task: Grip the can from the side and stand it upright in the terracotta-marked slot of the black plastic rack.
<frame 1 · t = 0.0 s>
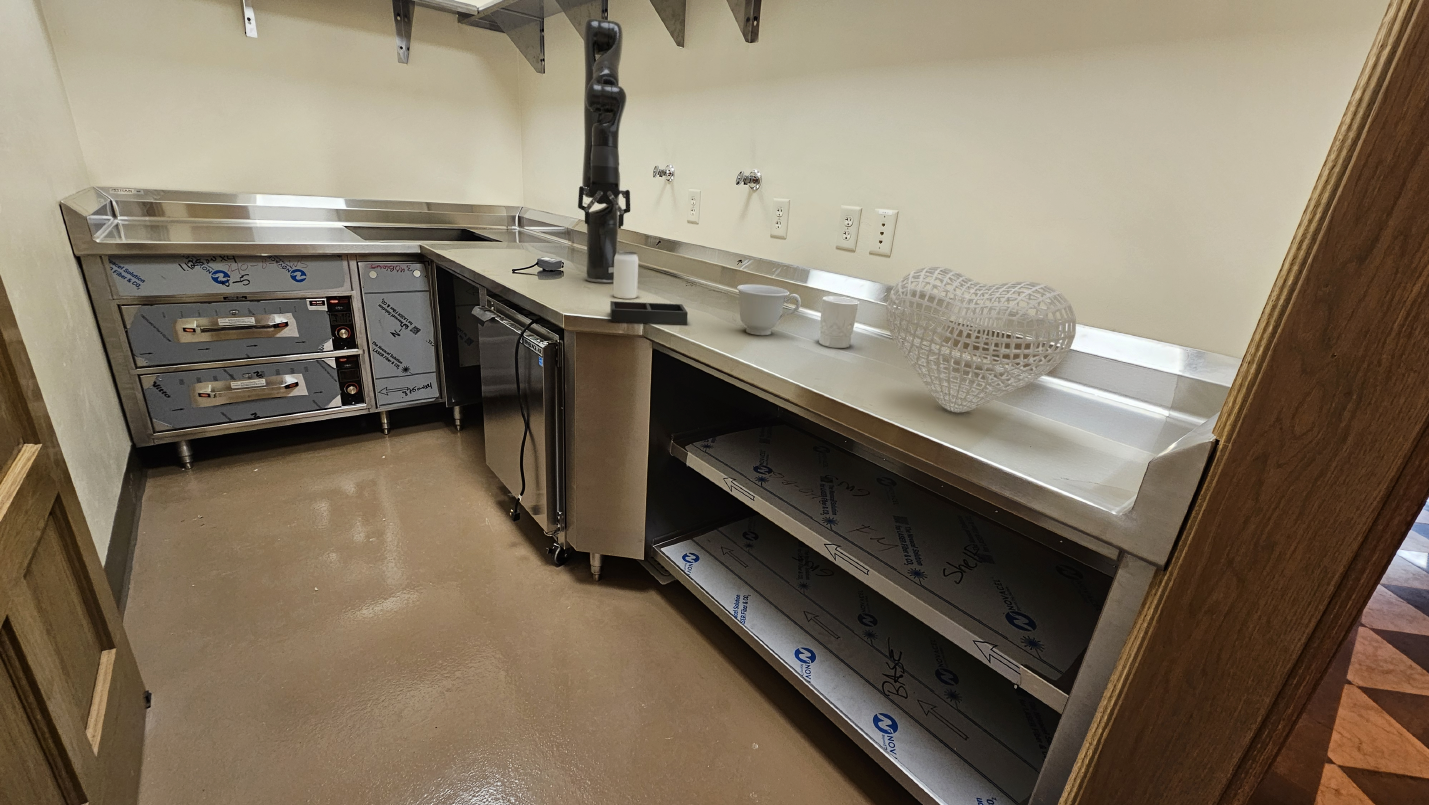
hand: (604, 227, 170), 17 cm above the counter, tool pointing down, fingers open, 8 cm apart
heart: (952, 412, 100), on the counter
white cup: (833, 345, 136), on the counter
can: (625, 297, 167), on the counter
rack: (647, 319, 144), on the counter
teacup: (764, 334, 140), on the counter
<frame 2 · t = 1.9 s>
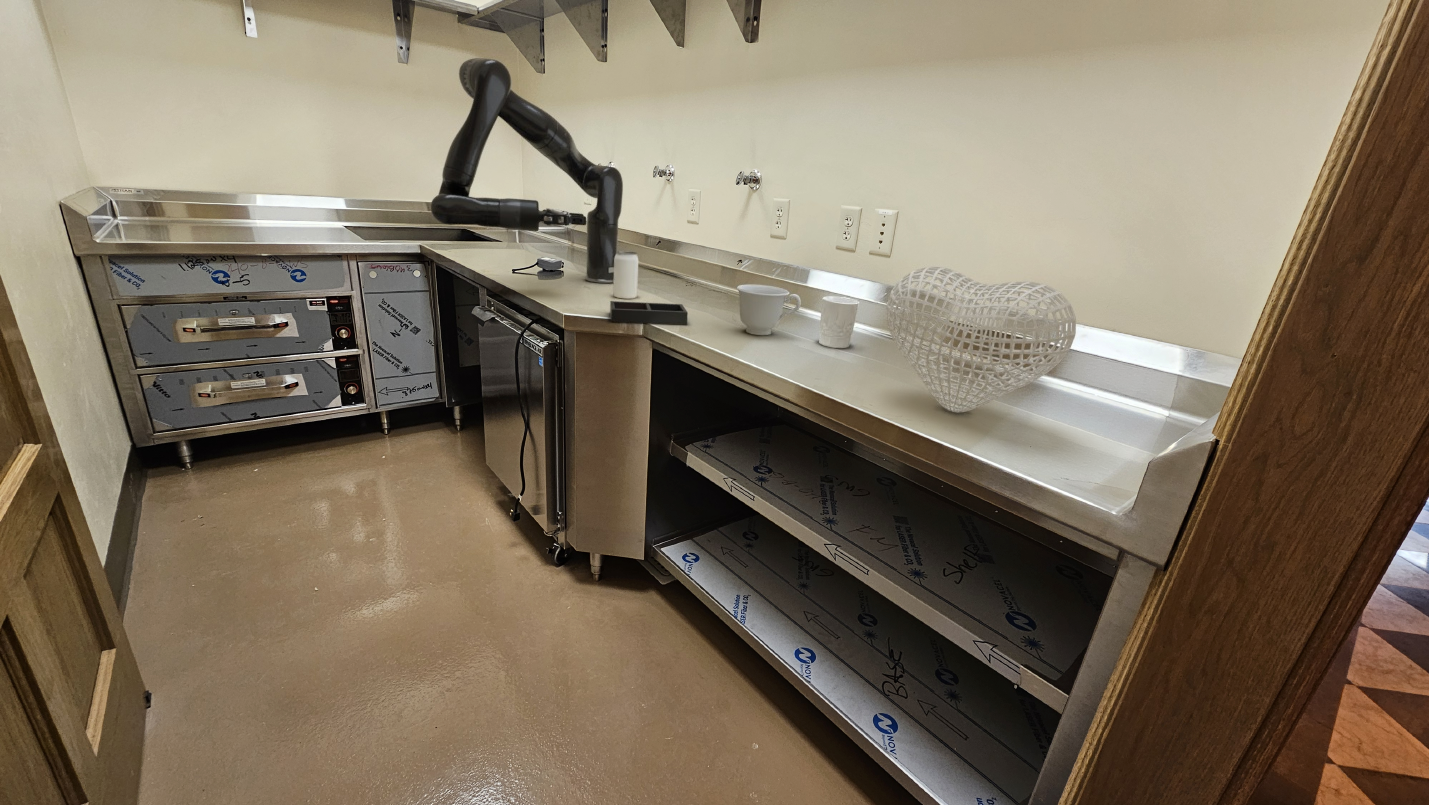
hand: (584, 219, 157), 20 cm above the counter, tool horizontal, fingers open, 8 cm apart
nothing on the counter moved.
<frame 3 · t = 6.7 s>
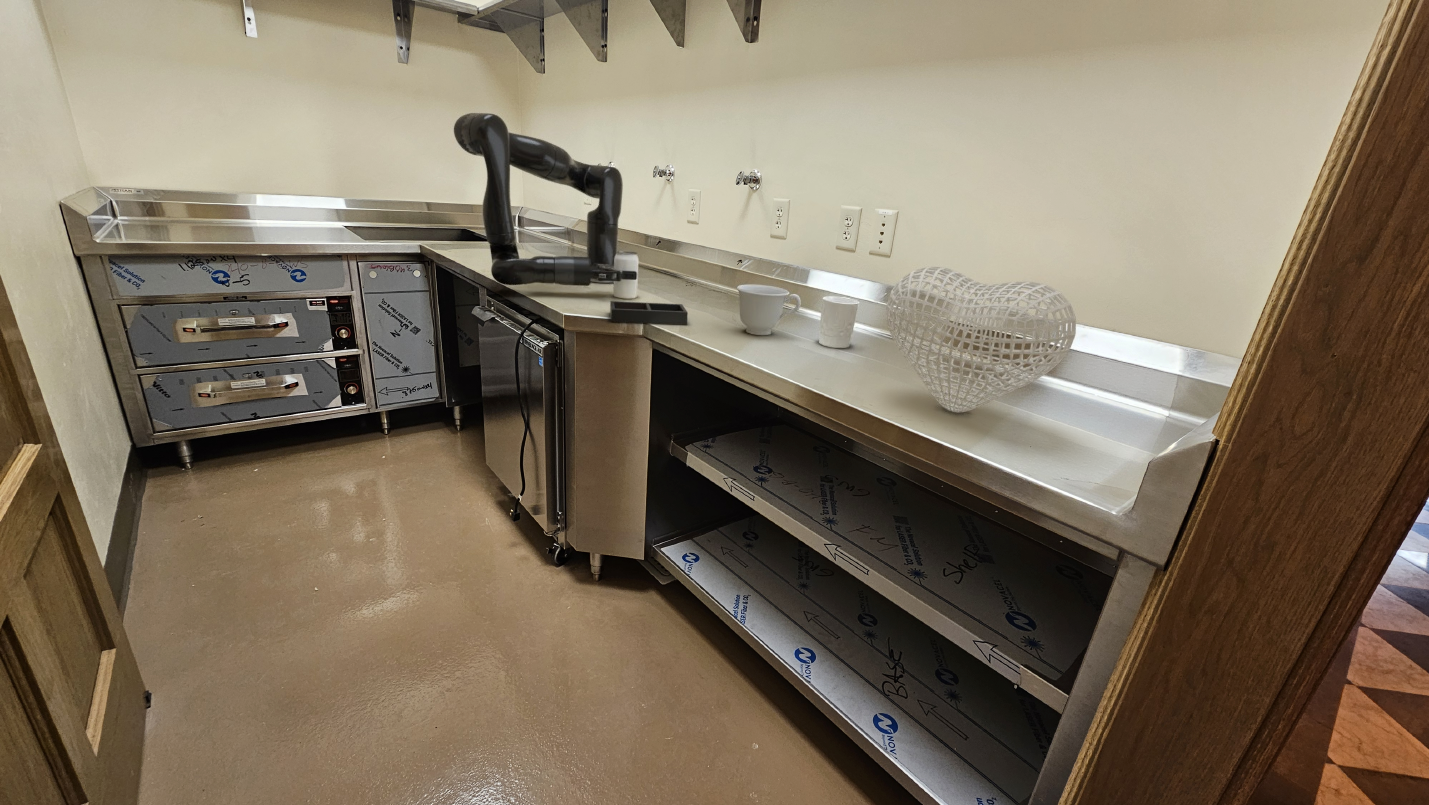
hand: (634, 273, 165), 7 cm above the counter, tool horizontal, fingers closed on can, 6 cm apart
can: (625, 297, 167), on the counter, touching gripper
everything else where it was.
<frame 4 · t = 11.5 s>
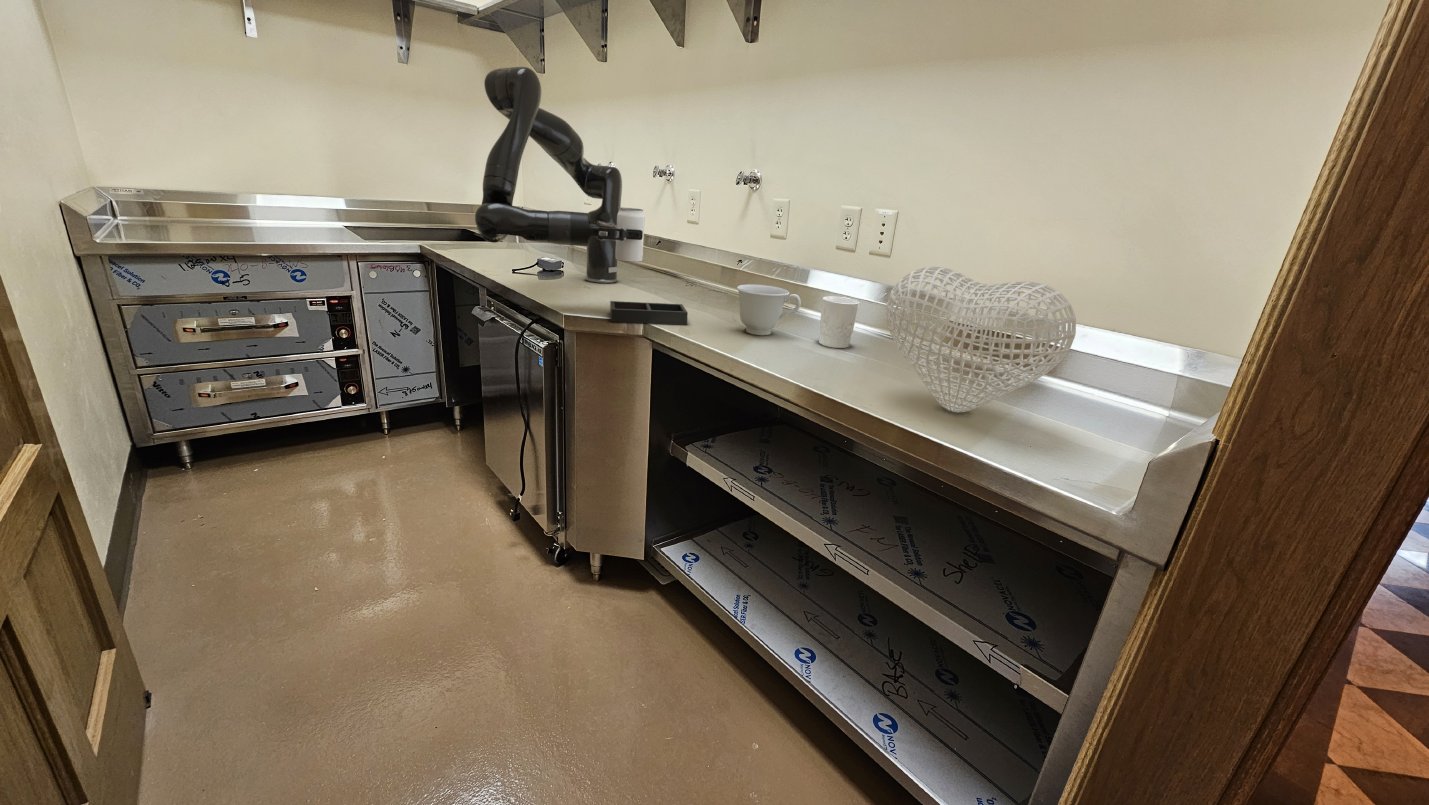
hand: (639, 233, 145), 19 cm above the counter, tool horizontal, fingers closed on can, 6 cm apart
can: (628, 261, 147), point 12 cm above the counter, touching gripper
everything else where it was.
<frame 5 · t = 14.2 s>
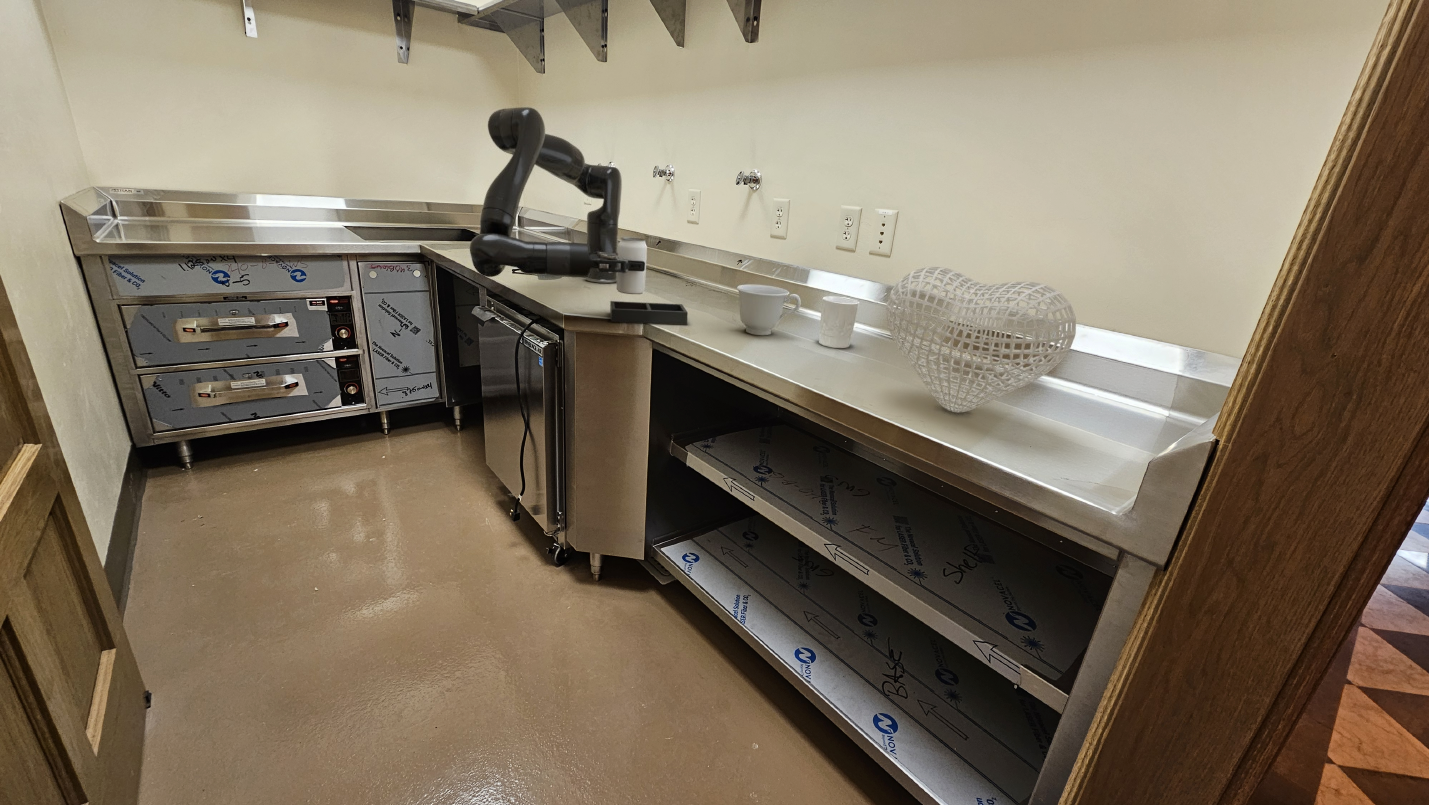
hand: (641, 263, 139), 13 cm above the counter, tool horizontal, fingers closed on can, 6 cm apart
can: (630, 292, 141), point 6 cm above the counter, touching gripper
everything else where it was.
when the fingers open (7 cm above the counter, at t = 16.2 s): can stays where it is, resting on rack.
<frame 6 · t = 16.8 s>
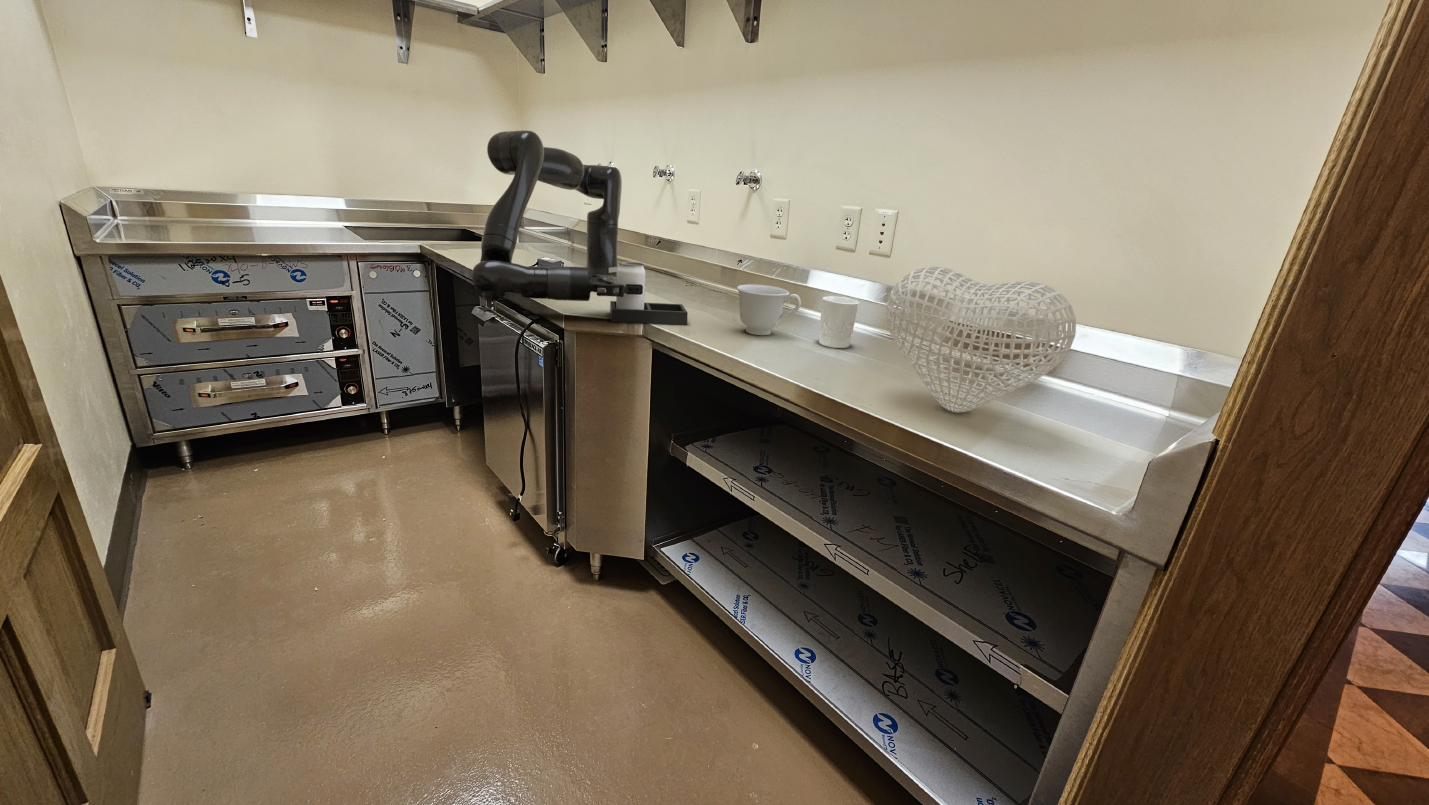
hand: (639, 286, 141), 8 cm above the counter, tool horizontal, fingers open, 8 cm apart
can: (629, 316, 143), point 1 cm above the counter, touching rack
everything else where it was.
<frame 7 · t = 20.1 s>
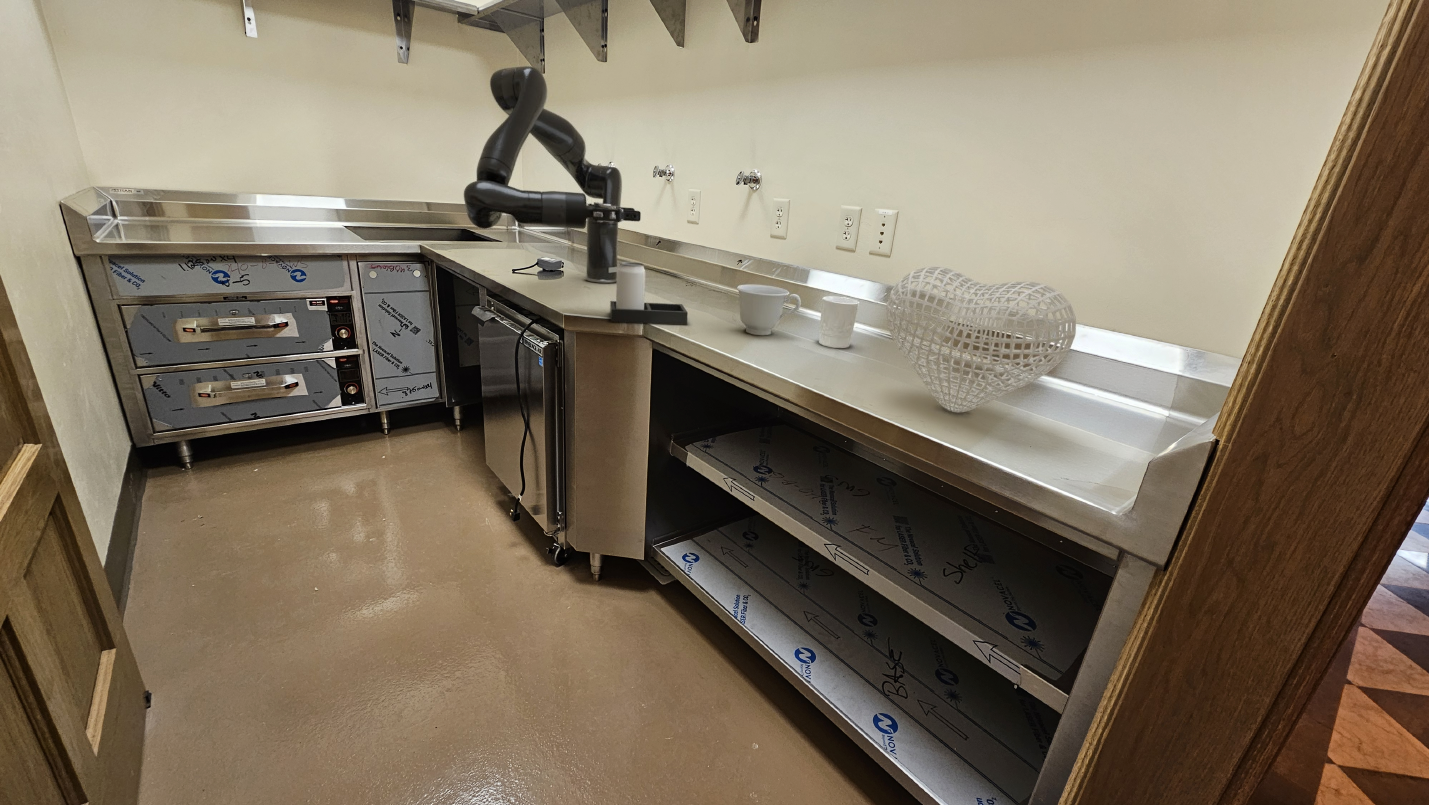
hand: (637, 214, 137), 23 cm above the counter, tool horizontal, fingers open, 8 cm apart
nothing on the counter moved.
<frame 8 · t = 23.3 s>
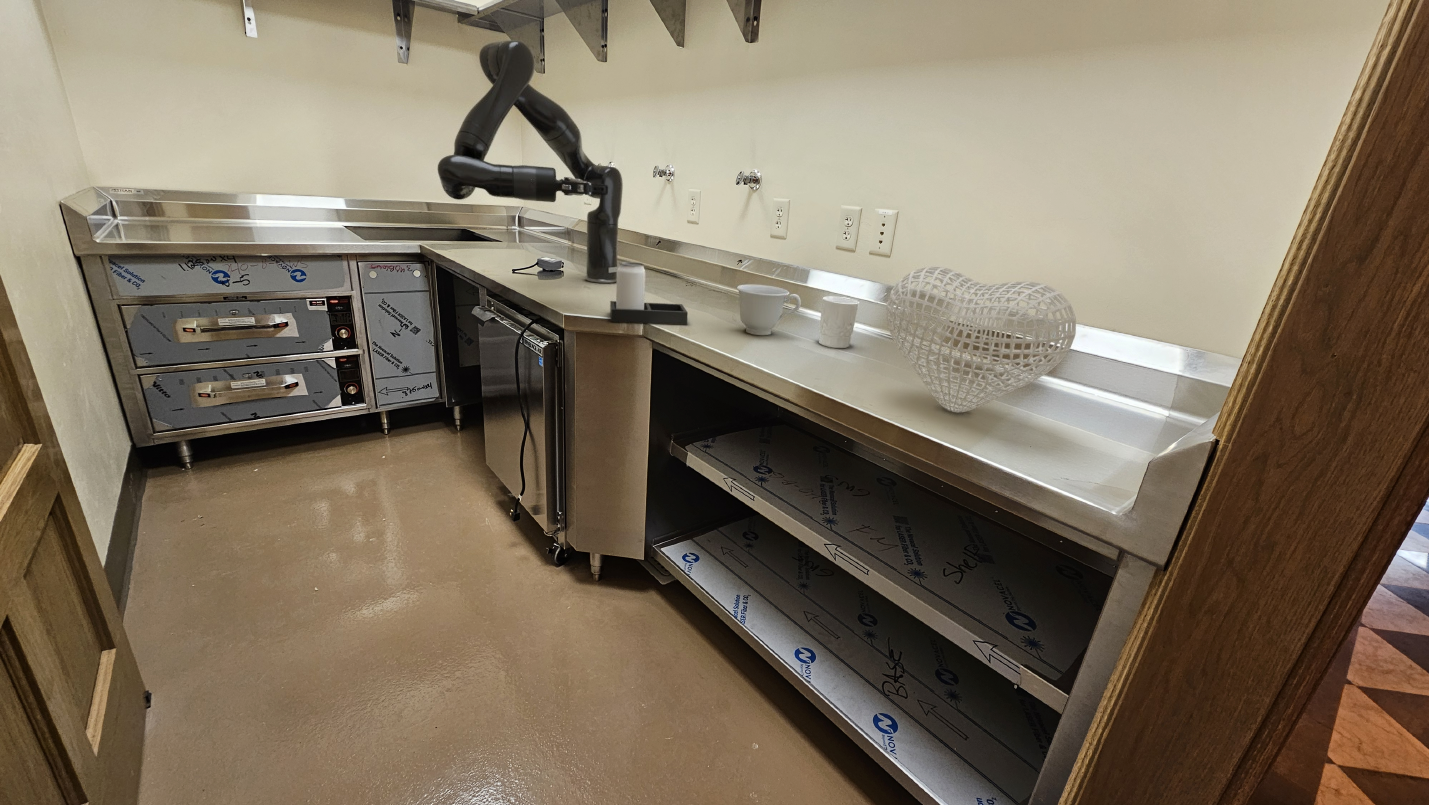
hand: (605, 189, 143), 28 cm above the counter, tool horizontal, fingers open, 8 cm apart
nothing on the counter moved.
at the end: can 0.1 cm from the target spot in the rack, point 0.5 cm above the rack's base; can tilted 0°; the gripper is holding nothing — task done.
